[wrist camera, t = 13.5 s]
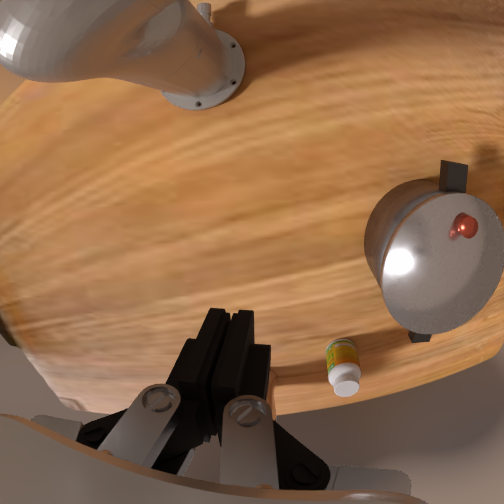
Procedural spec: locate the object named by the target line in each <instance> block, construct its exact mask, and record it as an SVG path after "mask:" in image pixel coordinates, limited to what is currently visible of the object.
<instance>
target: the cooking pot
mask: <svg viewBox="0 0 504 504" xmlns="http://www.w3.org/2000/svg"><path fill="white" fill-rule="evenodd" d="M467 172H468V165H465V164H461V163H457V162H451V161H445V160H441V168H440V180H439V184H438V183H436V182H433V181H428V180H412V181H408V182H405V183H403V184H400V185H398V186H396V187H395V188H393V189H392V190H390V191H389V192H388V193H387V194H385V195H384V197H383V198H382V199H381V200H380V201H379V202H378V204H377V205H376V206H375V208H374V210H373V211H372V213H371V215H370V218H369V220H368V223H367V226H366V230H365V236H364V249H365V255H366V259H367V262H368V265H369V267H370V269H371V271H372V273H373V275H374V277H375V278H376V280H377V282H378V284H379V286H380V288H381V285H380V271H381V263H382V259H383V255H384V252H385V249H386V246H387V244H388V242H389V240H390V237H391V235H392V234H393V232H394V231H395V229H396V227H397V226H398V225H399V223H400V222H401V221H402V219H403V218H404V217H405V216H406V215H407V214H408V213H409V212H410V211H411V210H412V209H413V208H414V207H416V206H417V205H418V204H420V203H421V202H423V201H424V200H426V199H428V198H430V197H432V196H434V195H437V194H441V193H444V192H463V193H465V192H466V182H467ZM408 335H409V338H410V340H411V342H412V343H417V342H429V341H430V338H431V335H432V334H420V333H416V332H412V331H410V330H409V333H408Z"/></svg>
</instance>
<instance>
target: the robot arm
mask: <svg viewBox="0 0 504 504" xmlns="http://www.w3.org/2000/svg"><path fill="white" fill-rule="evenodd" d="M210 16H211V4H209V3H200V4H198V5H197V10H196V8H195V7H194V6H193V5H192V4H191V3H190V1H189V0H2V1H1V2H0V64H1V65H3V67H4V68H6V69H7V70H8V71H10V72H11V73H13V74H15V75H17V76H19V77H22V78H25V79H28V80H32V81H37V82H46V83H59V82H73V81H80V80H87V79H94V78H114V79H119V80H124V81H128V82H132V83H135V84H139V85H143V86H147V87H151V88H154V89H158V90H160V91H161V93H162V95H163V96H164V97H165V98H166V99H167V100H168V101H169V102H171V103H172V104H173V105H175V106H178V107H180V108H183V109H187V110H205V109H210V108H213V107H215V106H218V105H220V104H221V103H223V102H224V101H226V100H227V99H228V98H230V97H231V96H232V95H233V94H234V93H235V91H236V90H237V89H238V88H239V86H240V84H241V82H242V80H243V77H244V73H245V65H246V63H245V56H244V53H243V51H242V49H241V47H240V45H239V44H238V42H237V41H236V40H235V39H234V38H233V37H232V36H230V35H229V34H228V33H226V32H224V31H222V30H218V29H214V28H213V23H212V22H210ZM233 46H235V48H232V47H233ZM233 82H236V84H235V85H233ZM200 103H201V104H202V105H201V106H199V104H200ZM270 361H271V345H263V344H254V311H252V310H239V311H238V313H233V316H232V319H231V318H230V313H226V312H225V309H219V308H210V309H209V311H208V314H207V316H206V318H205V320H204V322H203V325H202V327H201V329H200V331H199V333H198V336H197V338H196V339H191V338H189V339H187V341H186V342H185V344H184V346H183V348H182V350H181V352H180V355H179V357H178V359H177V361H176V363H175V365H174V367H173V369H172V371H171V373H170V375H169V377H168V379H167V382H166V384H154V385H151V386H148V387H147V388H145V389H144V390H143V391H142V392H141V393H140V394H139V395H138V396H137V398H136V399H135V400H134V402H133V403H132V404H131V406H130V407H129V408H128V409H125V410H122V411H120V412H117V413H114V414H111V415H109V416H106V417H103V418H100V419H97V420H95V421H91V422H89V423H87V424H85V425H83V423H82V422H79V421H73V420H67V419H62V418H57V417H52V416H47V415H38V416H35V417H34V418H32V419H31V420H28V419H25V418H23V417H19V416H15V415H9V414H0V504H428V503H426V502H425V501H423V500H421V499H419V498H415V497H413V496H410V494H411V480H410V479H409V477H408V475H407V474H405V473H404V472H402V471H398V470H389V469H377V468H365V467H356V466H349V465H341V464H340V465H339V467H338V466H332V465H327V464H326V463H325V462H324V461H323V460H322V459H320V458H319V457H318V456H316V455H315V454H314V453H313V452H311V451H310V450H309V449H307V448H306V447H305V446H304V445H303V444H301V443H300V442H299V441H298V440H297V439H295V438H294V437H293V436H292V435H290V434H289V433H288V432H287V431H286V430H285V429H283V428H282V427H281V426H280V425H279V424H277V423H276V422H275V421H274V420H273V417H272V410H271V407H270V405H269V404H268V403H267V393H268V385H269V376H270ZM217 433H218V437H219V442H220V447H221V466H220V467H221V468H220V483H214V482H207V481H202V480H197V479H192V478H187V477H183V475H184V473H185V471H186V469H187V467H188V465H189V463H190V461H191V460H192V458H193V456H194V454H195V451H196V447H197V446H199V445H201V444H203V441H205V442H210V439H211V435H215V436H216V434H217Z"/></svg>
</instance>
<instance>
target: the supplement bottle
mask: <svg viewBox="0 0 504 504" xmlns="http://www.w3.org/2000/svg"><path fill="white" fill-rule="evenodd" d="M326 359H327V369H328V378H329V382H330V383H331V385H333V386H334V392H335V394H336V395H338V396H341V397H348V396H351V395H353V394H355V393H356V392H357V391H358V390H359V379H360V377H361V369H360V365H359V360H358V356H357V351H356V347H355V345H354V343H353V342H352V341H350V340H348V339H338V340H335V341H333V342H331V343H330V344H329V345H328V347H327V349H326Z"/></svg>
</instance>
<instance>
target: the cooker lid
mask: <svg viewBox="0 0 504 504" xmlns="http://www.w3.org/2000/svg"><path fill="white" fill-rule="evenodd" d="M503 268H504V230H503V227H502V224H501V222H500V220H499V218H498V216H497V214H496V213H495V212H494V210H493V209H492V208H491V207H490V206H489V205H488V204H487V203H486V202H484V201H483V200H481V199H479V198H477V197H475V196H472V195H470V194H467V193H463V192H444V193H441V194H437V195H434V196H432V197H430V198H428V199H426V200H424V201H423V202H421V203H420V204H418V205H417V206H416V207H414V208H413V209H412V210H411V211H410V212H409V213H408V214H407V215H406V216H405V217H404V218H403V219H402V221H401V222H400V223H399V225H398V226H397V227H396V229H395V231H394V232H393V234H392V235H391V237H390V240H389V242H388V244H387V246H386V249H385V252H384V255H383V259H382V263H381V271H380V285H381V291H382V295H383V298H384V301H385V303H386V306H387V308H388V310H389V312H390V314H391V315H392V316H393V318H394V319H395V320H396V321H397V322H398V323H399V324H400V325H401V326H403V327H404V328H406V329H408V330H410V331H412V332H416V333H420V334H439V333H443V332H447V331H450V330H452V329H455V328H457V327H459V326H461V325H463V324H464V323H466V322H467V321H469V320H470V319H471V318H472V317H474V316H475V315H476V314H477V313H478V312H479V311H480V310H481V309H482V308H483V307H484V306H485V304H486V303H487V302H488V300H489V299H490V298H491V296H492V295H493V293H494V291H495V289H496V287H497V285H498V283H499V281H500V278H501V275H502V272H503Z"/></svg>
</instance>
